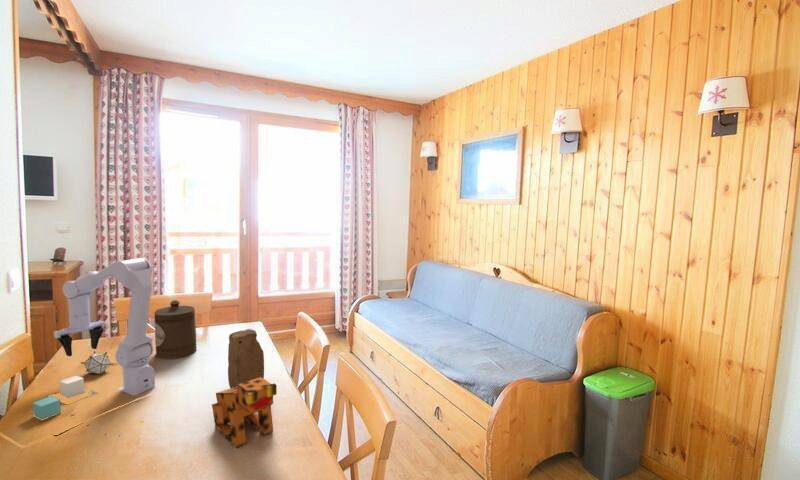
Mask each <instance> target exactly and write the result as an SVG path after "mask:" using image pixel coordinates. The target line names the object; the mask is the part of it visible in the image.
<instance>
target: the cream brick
mask: <svg viewBox="0 0 800 480" xmlns="http://www.w3.org/2000/svg"><path fill="white" fill-rule="evenodd" d="M84 387H85V378H83V377H81V376H78V375H74V376H73V375H72V376H69V377H67V378H65V379H64V378H63V379H62V380H59V391H60V394H61V395H63V396H65V397H67V398H70V397H73V396H76V395H79V394H83V393H85V391H84Z"/></svg>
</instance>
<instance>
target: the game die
mask: <svg viewBox="0 0 800 480" xmlns="http://www.w3.org/2000/svg"><path fill="white" fill-rule="evenodd" d="M107 353H108V351H105V353H102V352H101V353H100V352H99V353H98V352H96V351H95V350H93V354H92V355H89V357H88V358H87V359H85V361H84V362H81V365H84V366H85V368H86V370H85V372H86V373H87V372H88V374H89V373H90V374H91V373H95V374H94V375H100V374H101V375H102V373H103V372H104V371H106V369H108V368H109V367H110V366H113V365H114V363H111V361H110V359H109V357H110V356H109V355H107Z"/></svg>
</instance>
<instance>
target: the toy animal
mask: <svg viewBox="0 0 800 480" xmlns="http://www.w3.org/2000/svg"><path fill="white" fill-rule="evenodd" d="M277 389H278V388H277V384H276V383H274V382H273V383H271V382H270V381H268V380H266V379H265V378H264V379H263V378H262V377H259V378H256V379H253V380H250V381H247V382H244V383H241V384H238V386H236V387H233V388H230V387H229V388H228V389H225V390H221V391H218V392H215V396H216V397H215V398H216V402H215V403H213V404H211V408H212V414H213V420H214V421H213V422H214V429H215V430H217V431H218V433H220V435H222V436H223V437H224V438H225V440H227V442H231V445H232V446H233V447H235V448H238V447H240V446H243V445H245V444H247V438H246V430H245V429H246V428H245V422H247V423H248V424H249V425H251V427H253V428H254V429H255V430H256V431H259V434H262V435H263V436H266V435H268V434H270V433H273V432H274V427H273V425H274V424H273V415H272V405H274V396H276V395H277V392H278V391H277ZM256 413H257V414H256Z"/></svg>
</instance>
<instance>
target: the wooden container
mask: <svg viewBox="0 0 800 480" xmlns="http://www.w3.org/2000/svg"><path fill="white" fill-rule="evenodd" d="M169 304H170V306H167V307H166V306H165V307H163V308H159V309H156V310H155V311H154V335H155V336H154V337H155V356H156V357H158V358H159V359H162V360H163V359H165V360H174V359H175V360H176V359H179V358H184V357H187V356H190V355H192V354H194V353H196V351H197V330H196V328H197V327H196V312H195V311H196V310H195V307H194V306H191V305H180V301H178V300H177V299H175V300H174V299H173V300H171V301H170V303H169Z"/></svg>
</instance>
